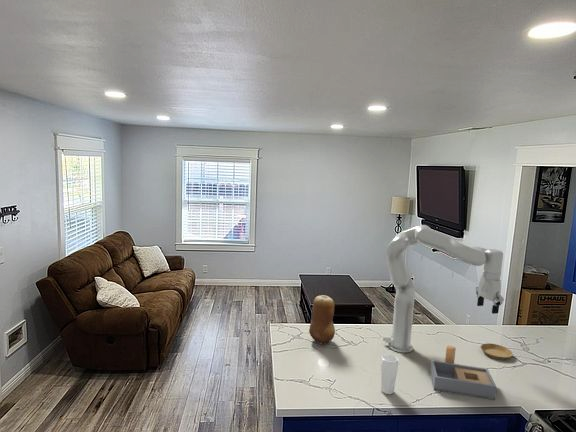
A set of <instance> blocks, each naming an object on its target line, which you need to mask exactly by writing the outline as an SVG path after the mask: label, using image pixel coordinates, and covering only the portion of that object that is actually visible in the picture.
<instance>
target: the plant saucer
mask: <svg viewBox="0 0 576 432" xmlns="http://www.w3.org/2000/svg"><path fill="white" fill-rule="evenodd" d="M480 349H481V351H482V352H483V353H484V354H485V355H486V356H488V357H490V358H492V359H495V360H500V361H501V360H508V359H510V357H512V356H513V352H512V351H511V350H510V349H509V348H507V347H505V346H502V345H499V344H496V343H489V342H488V343H482V344H481V345H480Z"/></svg>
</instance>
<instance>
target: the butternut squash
mask: <svg viewBox="0 0 576 432" xmlns="http://www.w3.org/2000/svg"><path fill="white" fill-rule="evenodd" d="M334 316H335V301H334V300H333V298H331V297H330V296H328V295H323V294H321V295H318V296H316V297H315V298H314V299H313V303H312V316H311V322H310V324H309V329H308V331H309V335H310V337H311V339H313V341H315V342H317V343H318V344H320V345H327V344H329V343H331V341H332V340H333V339H334V338H335V334H336V329H335V325H334V321H333V319H334Z"/></svg>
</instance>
